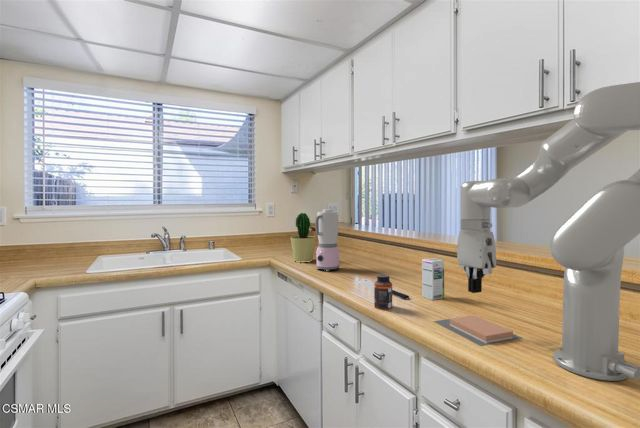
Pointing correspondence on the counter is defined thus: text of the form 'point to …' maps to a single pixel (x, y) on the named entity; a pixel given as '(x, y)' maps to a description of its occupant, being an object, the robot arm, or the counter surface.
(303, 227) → the potted cactus
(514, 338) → the mat
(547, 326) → the counter surface
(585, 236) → the robot arm
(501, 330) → the tile
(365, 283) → the kitchen cleaver
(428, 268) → the syrup box
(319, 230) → the blender
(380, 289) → the supplement bottle
